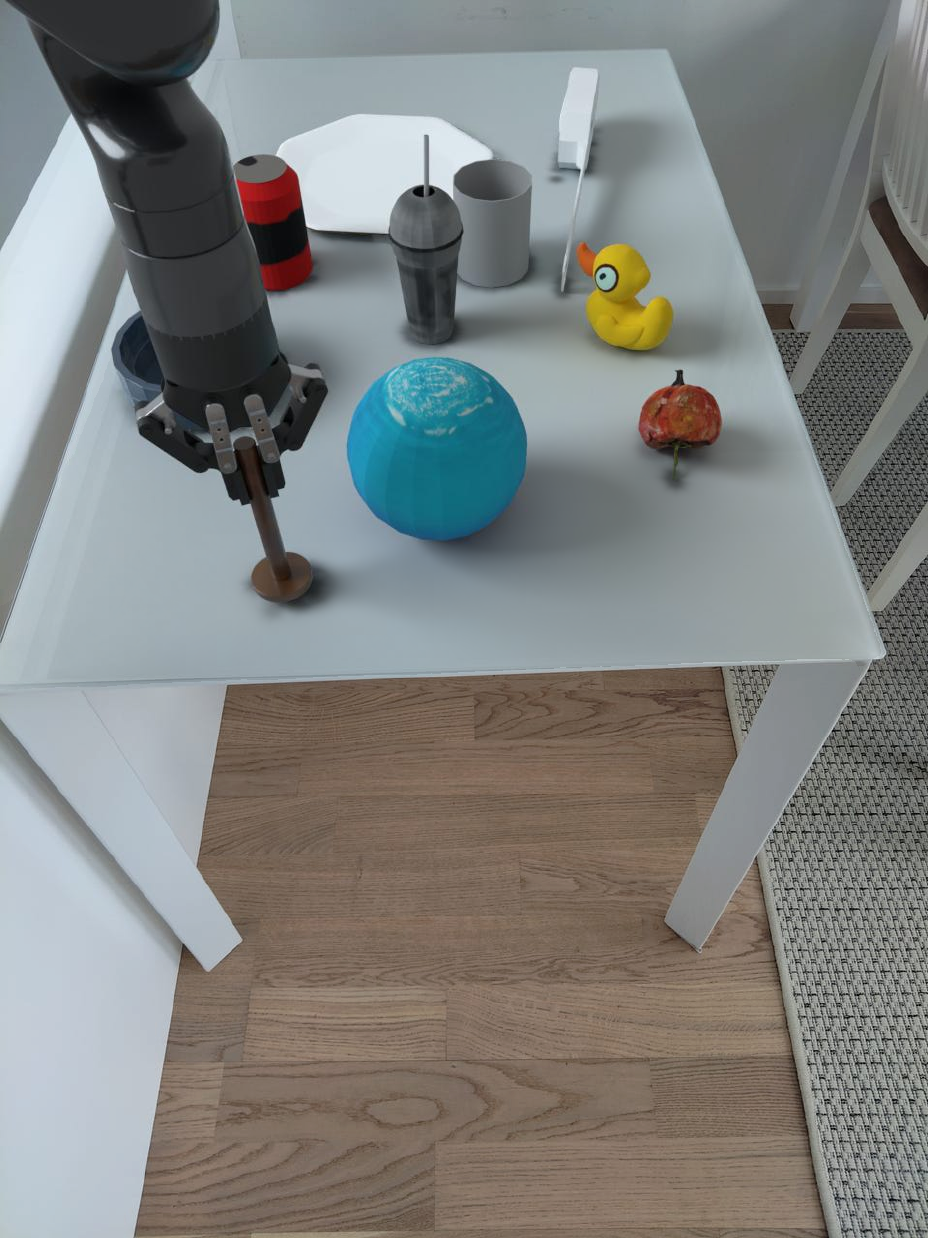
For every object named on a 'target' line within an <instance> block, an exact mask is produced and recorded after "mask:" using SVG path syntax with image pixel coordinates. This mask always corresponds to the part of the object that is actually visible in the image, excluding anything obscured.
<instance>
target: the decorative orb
mask: <svg viewBox="0 0 928 1238" xmlns="http://www.w3.org/2000/svg"><path fill="white" fill-rule="evenodd" d="M526 430H527V429H526V426H525V423H524V420H523V418H522V416H521V414H520V411H519V408H518V406H517V404H516V402H515V400H514V398H513V396H512V395H511V394H510V393H509V392H508V391H507V389H506V388H505V387H504V386H503V385H502V384H501V383H500V382H499V381H498V380H497V379H496V378H495V377H494V376H493V375H492V374H490V373H489V372H487V371H486V370H484V369H482V368H480V367H479V366H476V365H474V364H472V363H471V362H468V361H464V360H459V359H457V358H456V359H455V358H452V357H449V356H447V357H446V356H445V357H444V356H428V357H421V358H415V359H412V360H410V361H407V362H404V363H402V364H399V365H397V366H394V367H393V368H391V369H389V370H388V371H386V372H385V373H384V374H383V375H381V376H380V377H379V378H377V379H376V380H375V381H374V382H373V383H372V384H371V385H370V387H369V388H368V389H367V391H366V392H365V393H364V395H363V396H362V398H361V399H360V400H359V402H358V403H357V405H356V407H355V408H354V412H353V414H352V416H351V421H350V425H349V429H348V434H347V439H346V458H347V462H348V466H349V471H350V475H351V480H352V483H353V486H354V488H355V490H356V492H357V494H358V495H359V497H360V498H361V499H362V500H363V502H364V503H365V505H366V506H367V508H368V509H369V510H370V511H371V513H372V514H373V515H374V516H375V517H376V518H377V519H379V521H381V522H383V523H385V524H386V525H387V526H389V527H390V528H392V529H394V530H395V531H396V532H398V533H400V534H402V535H406V536H409V537H412V538H416V539H418V540H427V541H449V540H453V539H459V538H465V537H467V536H469V535H471V534H474V533H476V532H478V531H480V530H482V529H484V528H487V526H489V525H490V524H491V523H492V522H494V520H496V519H497V518H498V517H499V516H500V515H501V514H503V513H504V512H505V511H506V510H507V509H508V508H509V506H510V504H511V503H512V501H513V499H514V497H515V495H516V493H517V492H518V490H519V488H520V486H521V484H522V481H523V479H524V477H525V473H526V467H527V455H528V453H527V452H528V433H527V431H526Z"/></svg>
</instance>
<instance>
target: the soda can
mask: <svg viewBox="0 0 928 1238" xmlns="http://www.w3.org/2000/svg"><path fill="white" fill-rule="evenodd" d="M233 168H234V171H235V176H236V180H237V185H238V189H239V194H240V198H241V203H242V207H243V212H244V216H245V220H246V223H247V225H248V228H249V231H250V233H251V236H252V238H253V241H254V244H255V248H256V251H257V255H258V259H259V262H260V265H261V273H262V278H263V282H264V287H265V291H274V292H279V291H286V290H291V289H294V288H296V287H298V286H300V285H302V284H304V283H305V282H306V281H307V280H308V279H309V277H310V275H311V274H312V273H313V270H314V267H313V266H314V264H313V257H312V251H311V246H310V245H311V244H310V239H309V233H308V228H307V227H306V221H305V215H304V209H303V203H302V197H301V191H300V185H299V179H298V175H297V173H296V172H295V171H294V170H293V169H292V168H291V167H290V166H289V165H288V164H286V162H285V161H284V160H283V159H281V158H279V157H277V156H276V155H273V154H253V155H249V156H245V157H243V158H242V159H240V160H238V161H237V162H235V163H234V164H233Z"/></svg>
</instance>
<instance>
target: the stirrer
mask: <svg viewBox="0 0 928 1238" xmlns="http://www.w3.org/2000/svg"><path fill="white" fill-rule="evenodd" d="M257 445H258V444H257V440H256V438H254V437H253V436H250V435H243V436H240V437H237V438H236V439H235V440H234V441H233V443H232V447H233V451H235V454H236V457H237V461H238V462H239V465H240V469H241V472H242V475H243V479H244V482H245V486H246V489H247V492H248V496H249V499H250V503H251V504H250V507H251V511H252V515H253V517H254V521H255V524H256V528H257V531H258V534H259V538H260V541H261V545H262V547H263V552H264V554H265V557H263V558H262V559H261V560H260V561H258V562H257V563H256V565H255V566H254V567H253V569H252V572H251V577H250V578H251V579H250V580H251V584H252V587H253V591H254V592H255V593H256V595H257V596H259V598H261V599H263V600H265V601H267V602H269V603H286V602H289V601H290V602H291V601H293V600H296V599H298V598H300V597H301V596H303V595H304V594H305V593H306V592H307V591H308V590H309V588H311V585H312V583H313V578H314V575H313V569H312V566H311V564H310V561H308V559H307V558H306V557H305V556H303V555H302V554H300V553H297V552H293V551H286V549H285V545H284V541H283V537H282V534H281V530H280V526H279V522H278V519H277V515H276V511H275V509H274V505H273V500H272V498H270V495H269V491H268V488H267V484H266V480H265V477H264V473H263V469H262V466H261V462H260V458H259V452H258V449H257Z"/></svg>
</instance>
